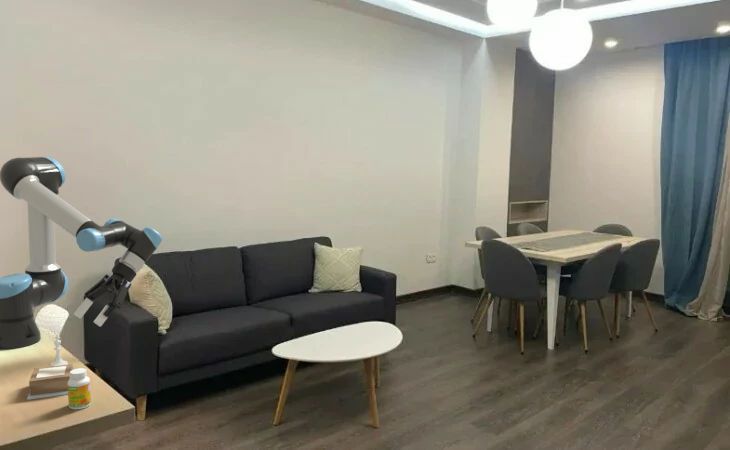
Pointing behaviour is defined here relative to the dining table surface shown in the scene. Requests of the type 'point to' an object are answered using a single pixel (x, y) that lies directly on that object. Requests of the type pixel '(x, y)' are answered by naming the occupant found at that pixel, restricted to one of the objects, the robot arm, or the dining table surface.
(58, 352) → the chess piece
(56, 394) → the pale blue board
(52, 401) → the dining table surface
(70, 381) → the supplement bottle
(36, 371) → the walnut plinth
